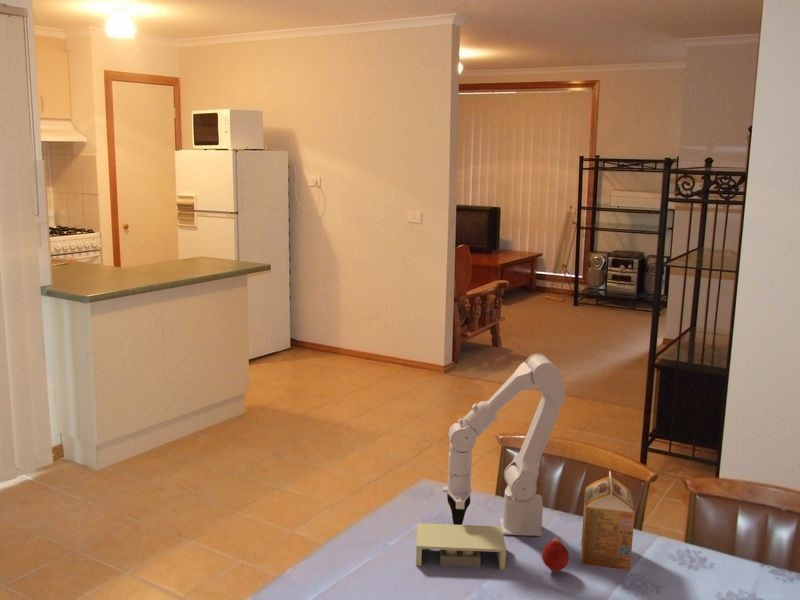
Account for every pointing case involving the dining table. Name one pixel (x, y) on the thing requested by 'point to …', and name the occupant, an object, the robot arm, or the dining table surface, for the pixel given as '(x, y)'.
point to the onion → (555, 556)
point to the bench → (461, 539)
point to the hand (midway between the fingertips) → (457, 523)
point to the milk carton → (607, 525)
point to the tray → (460, 558)
